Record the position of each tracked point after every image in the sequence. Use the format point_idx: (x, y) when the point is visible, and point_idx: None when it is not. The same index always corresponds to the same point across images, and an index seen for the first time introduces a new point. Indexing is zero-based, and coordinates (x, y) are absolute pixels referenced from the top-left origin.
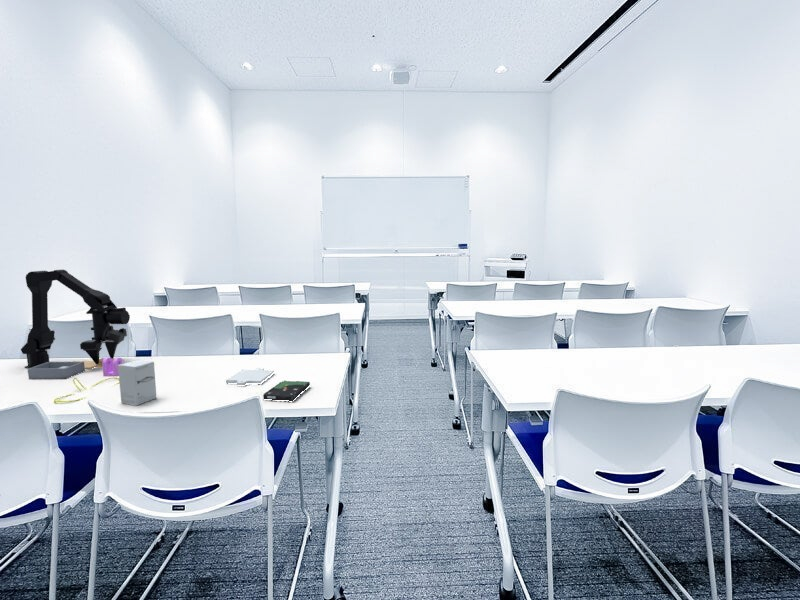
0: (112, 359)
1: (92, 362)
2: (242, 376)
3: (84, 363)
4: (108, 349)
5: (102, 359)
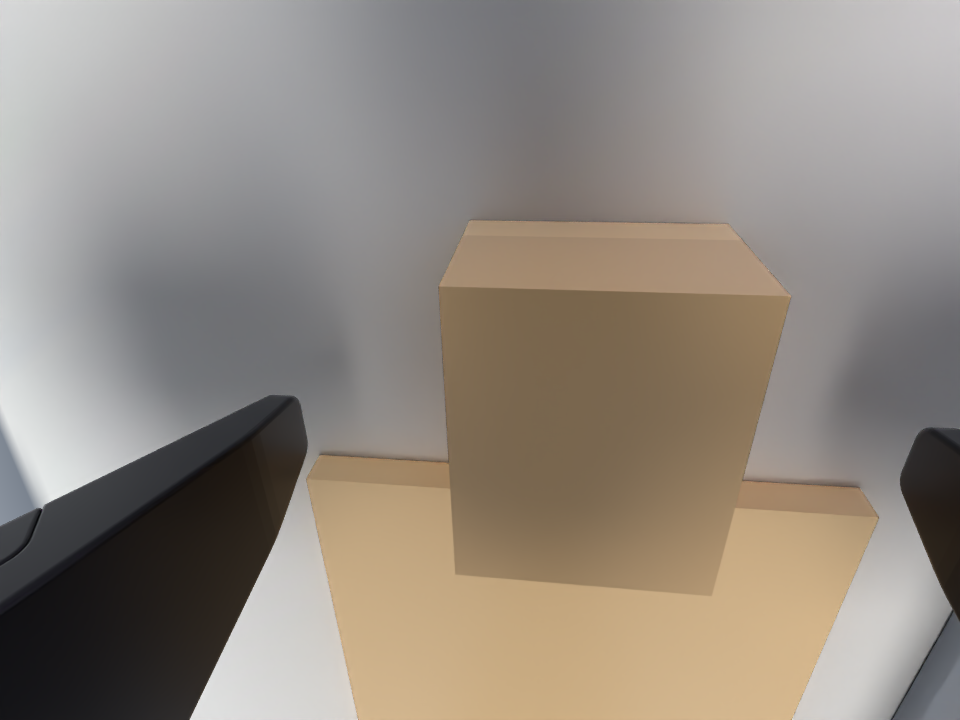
0: (530, 278)
1: (452, 641)
2: None
3: (515, 706)
4: (170, 701)
5: (610, 507)
